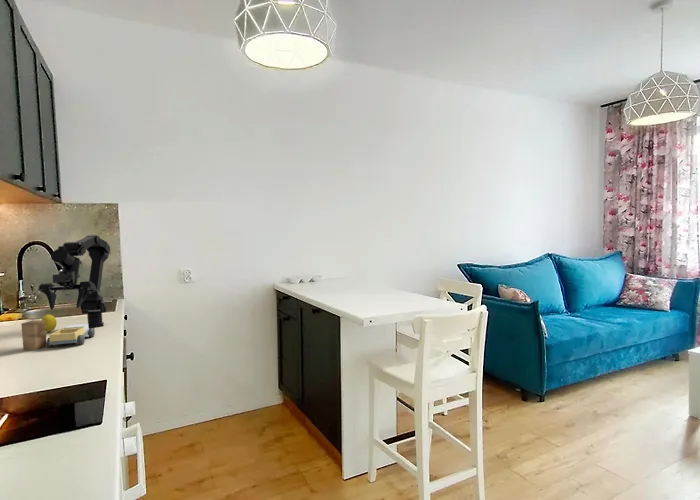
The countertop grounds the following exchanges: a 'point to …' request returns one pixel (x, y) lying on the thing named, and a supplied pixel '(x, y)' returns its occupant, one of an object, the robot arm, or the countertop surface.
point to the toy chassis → (70, 335)
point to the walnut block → (34, 335)
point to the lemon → (49, 322)
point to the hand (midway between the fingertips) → (64, 308)
